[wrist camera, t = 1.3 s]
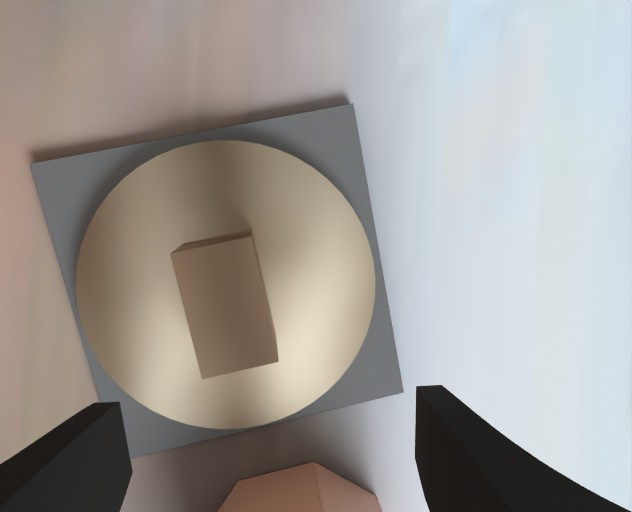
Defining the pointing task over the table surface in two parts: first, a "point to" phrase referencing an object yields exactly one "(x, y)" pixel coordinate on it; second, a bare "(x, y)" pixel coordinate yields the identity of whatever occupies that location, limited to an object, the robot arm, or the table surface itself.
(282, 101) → the table surface
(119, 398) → the mat
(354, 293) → the lid
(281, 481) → the bowl
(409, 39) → the table surface
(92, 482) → the robot arm
